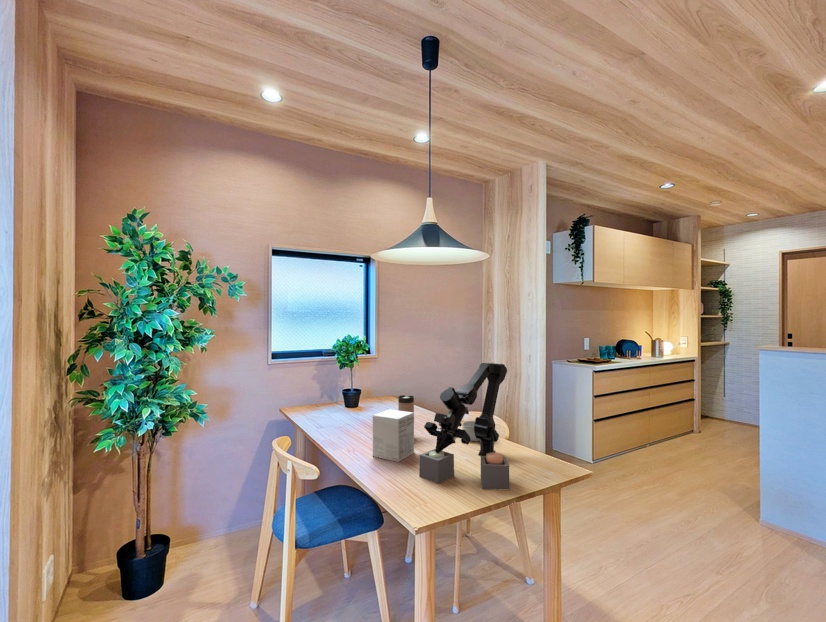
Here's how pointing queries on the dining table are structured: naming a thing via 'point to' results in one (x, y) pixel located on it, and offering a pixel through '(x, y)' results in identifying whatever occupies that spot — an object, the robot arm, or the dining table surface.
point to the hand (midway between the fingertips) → (436, 452)
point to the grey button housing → (436, 467)
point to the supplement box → (393, 434)
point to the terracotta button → (494, 458)
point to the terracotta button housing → (494, 474)
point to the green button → (436, 454)
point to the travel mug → (406, 403)
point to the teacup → (470, 430)
